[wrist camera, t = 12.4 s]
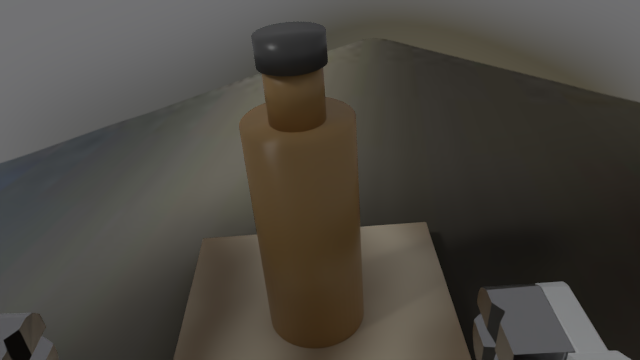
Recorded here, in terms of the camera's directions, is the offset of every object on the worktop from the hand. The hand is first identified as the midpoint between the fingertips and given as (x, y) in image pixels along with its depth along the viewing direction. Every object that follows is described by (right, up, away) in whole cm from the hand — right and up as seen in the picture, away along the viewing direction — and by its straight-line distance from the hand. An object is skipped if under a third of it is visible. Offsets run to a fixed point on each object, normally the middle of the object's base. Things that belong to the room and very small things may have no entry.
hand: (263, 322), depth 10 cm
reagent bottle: (+1, -4, +18) cm, 18 cm away
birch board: (+1, -5, +19) cm, 19 cm away
